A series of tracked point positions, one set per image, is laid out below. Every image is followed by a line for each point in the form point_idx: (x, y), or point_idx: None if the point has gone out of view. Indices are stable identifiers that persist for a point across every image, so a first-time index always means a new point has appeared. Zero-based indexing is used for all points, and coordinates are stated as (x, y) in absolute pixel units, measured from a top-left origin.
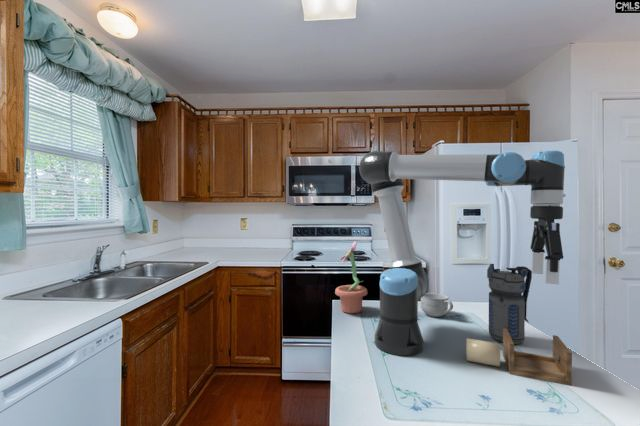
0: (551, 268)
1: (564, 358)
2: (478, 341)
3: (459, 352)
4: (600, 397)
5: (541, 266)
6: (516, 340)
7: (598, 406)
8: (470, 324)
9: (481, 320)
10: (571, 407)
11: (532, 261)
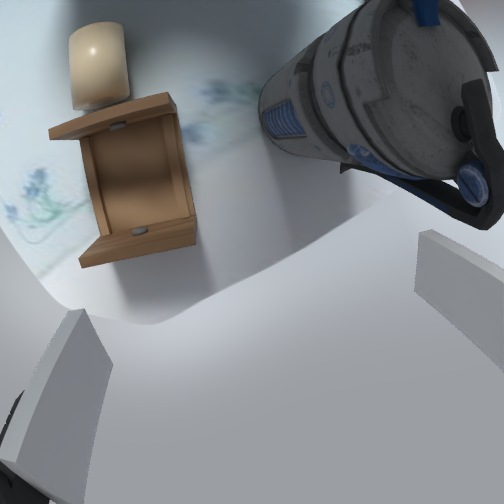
0: (11, 410)
1: (100, 246)
2: (83, 52)
3: (135, 21)
4: (95, 279)
5: (449, 309)
6: (267, 134)
7: (63, 272)
8: None
9: None
10: (33, 235)
11: (491, 266)
